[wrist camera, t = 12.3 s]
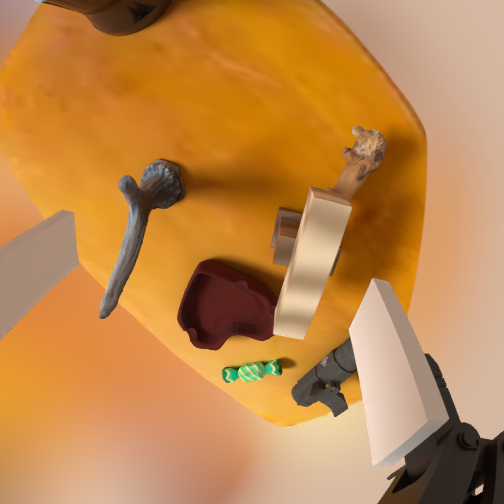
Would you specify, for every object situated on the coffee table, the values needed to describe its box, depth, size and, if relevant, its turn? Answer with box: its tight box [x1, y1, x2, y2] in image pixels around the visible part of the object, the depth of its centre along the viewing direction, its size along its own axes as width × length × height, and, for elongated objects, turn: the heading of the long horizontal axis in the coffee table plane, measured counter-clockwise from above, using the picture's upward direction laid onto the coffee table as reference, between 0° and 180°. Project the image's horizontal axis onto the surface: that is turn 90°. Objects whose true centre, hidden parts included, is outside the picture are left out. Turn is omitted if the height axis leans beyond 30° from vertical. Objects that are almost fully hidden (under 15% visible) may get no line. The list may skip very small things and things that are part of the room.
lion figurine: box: [326, 126, 387, 202], centre depth 34 cm, size 15×5×9 cm, turn 160°
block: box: [273, 186, 352, 340], centre depth 33 cm, size 18×4×5 cm, turn 169°
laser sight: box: [292, 337, 357, 417], centre depth 49 cm, size 10×22×10 cm, turn 150°
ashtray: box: [177, 260, 278, 350], centre depth 47 cm, size 18×16×5 cm
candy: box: [222, 359, 282, 383], centre depth 55 cm, size 12×3×4 cm
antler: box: [99, 159, 185, 319], centre depth 31 cm, size 12×8×25 cm
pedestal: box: [270, 208, 342, 276], centre depth 39 cm, size 6×9×8 cm, turn 80°
